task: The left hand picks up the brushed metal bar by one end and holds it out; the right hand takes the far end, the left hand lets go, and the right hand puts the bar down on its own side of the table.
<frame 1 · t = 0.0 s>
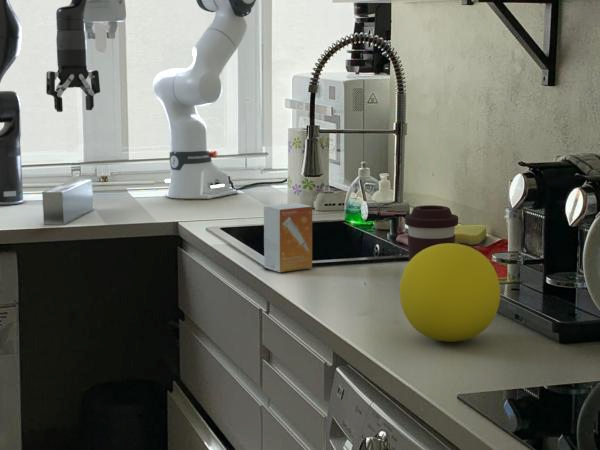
left hand: (74, 110, 273), 29 cm above the worktop, tool pointing down, fingers open, 8 cm apart
right hand: (101, 39, 294), 48 cm above the worktop, tool pointing down, fingers open, 8 cm apart
bar: (69, 216, 286), on the worktop
coffee cup: (430, 287, 198), on the worktop
toy: (448, 340, 162), on the worktop
small box: (288, 269, 215), on the worktop
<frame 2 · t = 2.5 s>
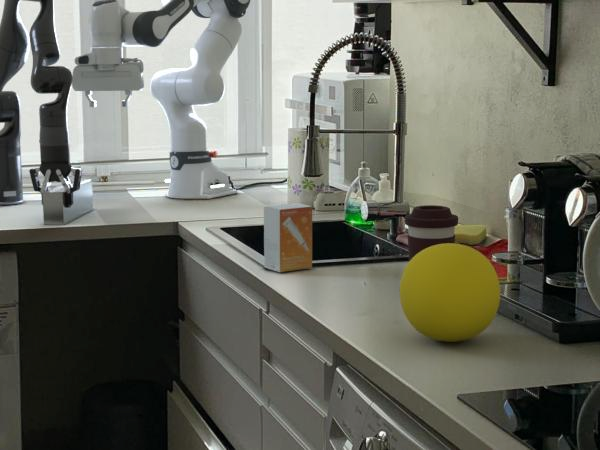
left hand: (57, 206, 276), 4 cm above the worktop, tool pointing down, fingers closed on bar, 5 cm apart
right hand: (109, 107, 298), 29 cm above the worktop, tool pointing down, fingers open, 8 cm apart
bar: (69, 216, 286), on the worktop, touching left hand
everything else where it was.
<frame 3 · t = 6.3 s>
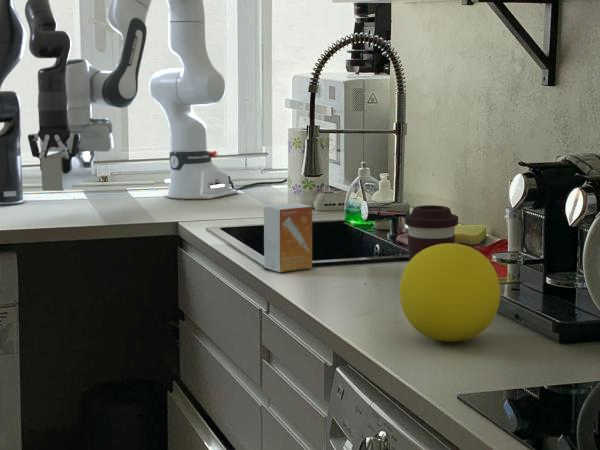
left hand: (56, 172, 275), 13 cm above the worktop, tool pointing down, fingers closed on bar, 5 cm apart
right hand: (78, 167, 293), 12 cm above the worktop, tool pointing down, fingers closed on bar, 5 cm apart
bar: (68, 184, 284), point 9 cm above the worktop, touching left hand, right hand
everything else where it was.
when the left hand's fingers open (13 cm above the worktop, at t = 7.4 s): bar stays where it is, held by the right hand.
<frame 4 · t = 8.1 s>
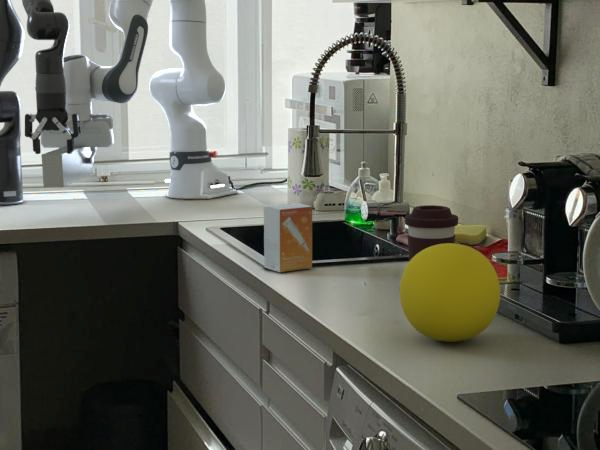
left hand: (53, 153, 272), 18 cm above the worktop, tool pointing down, fingers open, 8 cm apart
right hand: (78, 163, 293), 14 cm above the worktop, tool pointing down, fingers closed on bar, 5 cm apart
bar: (69, 180, 285), point 10 cm above the worktop, touching right hand
everything else where it was.
when the right hand's fingers open (5 cm above the worktop, at t = 18.0 s): bar stays where it is, on the worktop.
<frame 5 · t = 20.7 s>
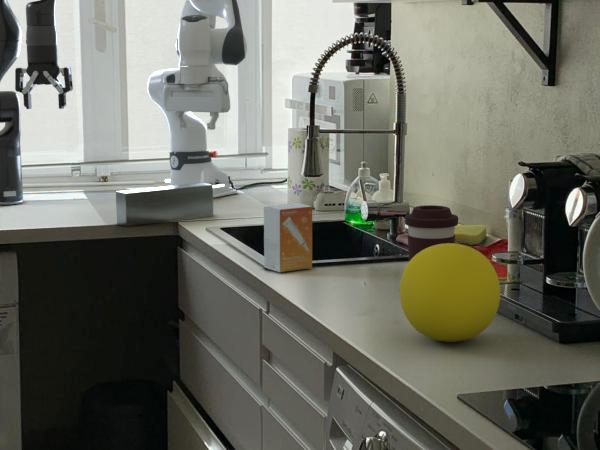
left hand: (45, 108, 266), 30 cm above the worktop, tool pointing down, fingers open, 8 cm apart
right hand: (197, 129, 281), 24 cm above the worktop, tool pointing down, fingers open, 8 cm apart
bar: (166, 219, 279), on the worktop
everything else where it was.
at the end: bar inside the target area (10.4 cm from its centre), on the worktop; the left hand is holding nothing; the right hand is holding nothing; bar at rest at the end (0.0 cm/s) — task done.
